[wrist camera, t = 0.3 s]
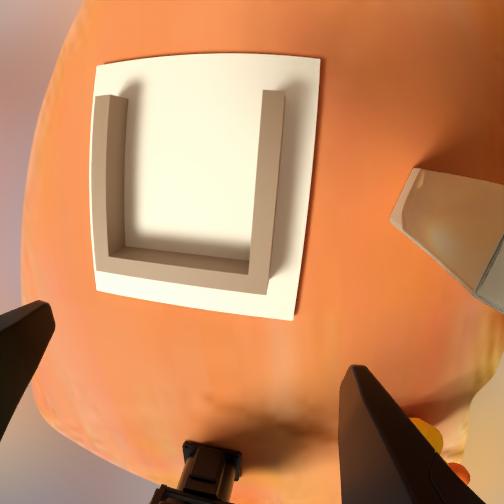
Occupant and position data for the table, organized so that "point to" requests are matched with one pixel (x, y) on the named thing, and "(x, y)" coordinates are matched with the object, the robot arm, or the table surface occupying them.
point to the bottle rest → (203, 179)
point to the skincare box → (457, 228)
